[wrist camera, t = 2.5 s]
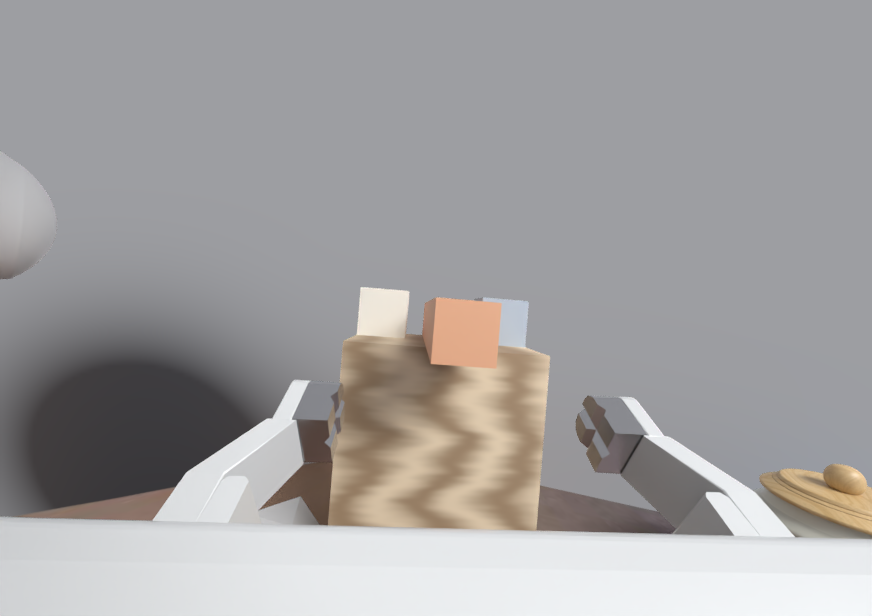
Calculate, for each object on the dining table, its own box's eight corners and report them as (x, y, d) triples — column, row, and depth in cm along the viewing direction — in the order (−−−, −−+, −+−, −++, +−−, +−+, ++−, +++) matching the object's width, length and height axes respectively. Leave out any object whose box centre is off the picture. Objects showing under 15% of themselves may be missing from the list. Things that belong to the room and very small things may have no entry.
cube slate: (479, 344, 35) (483, 297, 35) (471, 339, 40) (474, 298, 40) (525, 347, 35) (528, 301, 35) (511, 342, 40) (514, 302, 40)
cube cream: (356, 334, 34) (360, 287, 34) (364, 331, 39) (367, 289, 39) (404, 338, 34) (408, 291, 34) (405, 334, 39) (409, 293, 39)
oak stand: (317, 649, 27) (343, 341, 27) (347, 542, 40) (365, 330, 40) (526, 652, 29) (550, 356, 29) (492, 547, 41) (508, 341, 41)
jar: (746, 573, 40) (757, 430, 40) (937, 665, 30) (951, 476, 30) (730, 636, 32) (743, 455, 32) (988, 793, 22) (1006, 530, 22)
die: (304, 549, 39) (256, 487, 38) (354, 539, 36) (303, 471, 34) (249, 632, 32) (187, 560, 30) (306, 631, 28) (238, 549, 27)
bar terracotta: (430, 363, 19) (436, 297, 20) (422, 335, 40) (424, 303, 40) (496, 368, 20) (501, 303, 20) (454, 337, 41) (456, 305, 41)
